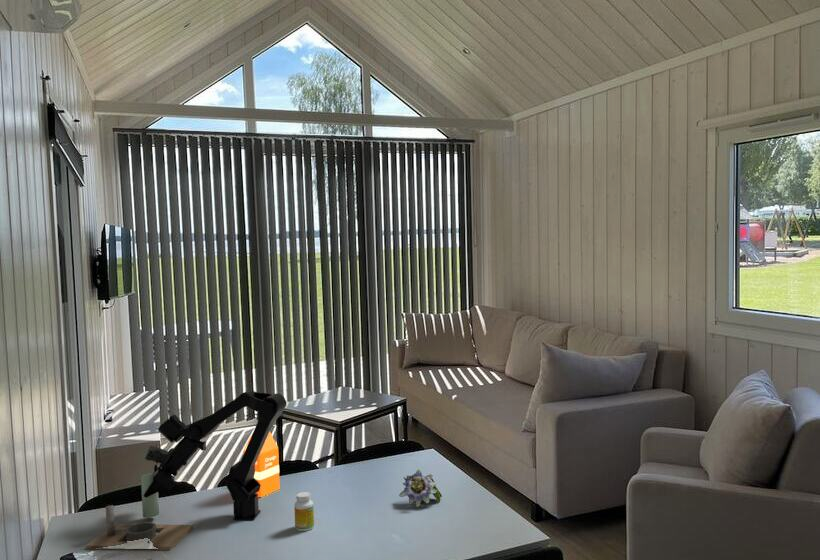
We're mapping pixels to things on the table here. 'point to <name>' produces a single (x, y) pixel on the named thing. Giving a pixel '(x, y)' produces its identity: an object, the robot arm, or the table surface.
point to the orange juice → (267, 467)
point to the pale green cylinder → (149, 498)
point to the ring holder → (139, 533)
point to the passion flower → (420, 488)
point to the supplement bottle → (304, 512)
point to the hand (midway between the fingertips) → (145, 493)
